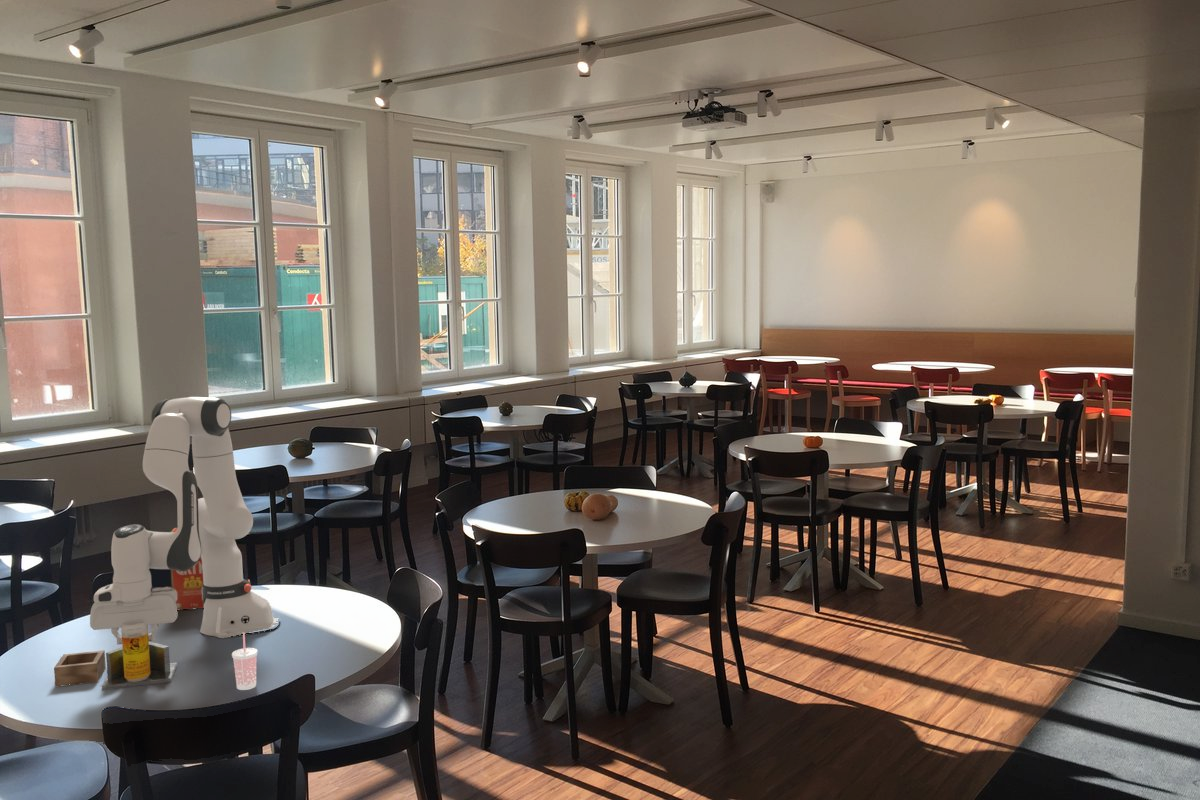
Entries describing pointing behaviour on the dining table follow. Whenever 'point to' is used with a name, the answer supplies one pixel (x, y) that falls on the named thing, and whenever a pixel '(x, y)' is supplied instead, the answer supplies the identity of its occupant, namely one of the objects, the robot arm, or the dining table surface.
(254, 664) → the beverage cup
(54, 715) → the dining table surface
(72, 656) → the walnut sleeve
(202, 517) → the robot arm
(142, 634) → the beer can
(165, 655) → the V-block
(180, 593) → the food packaging
